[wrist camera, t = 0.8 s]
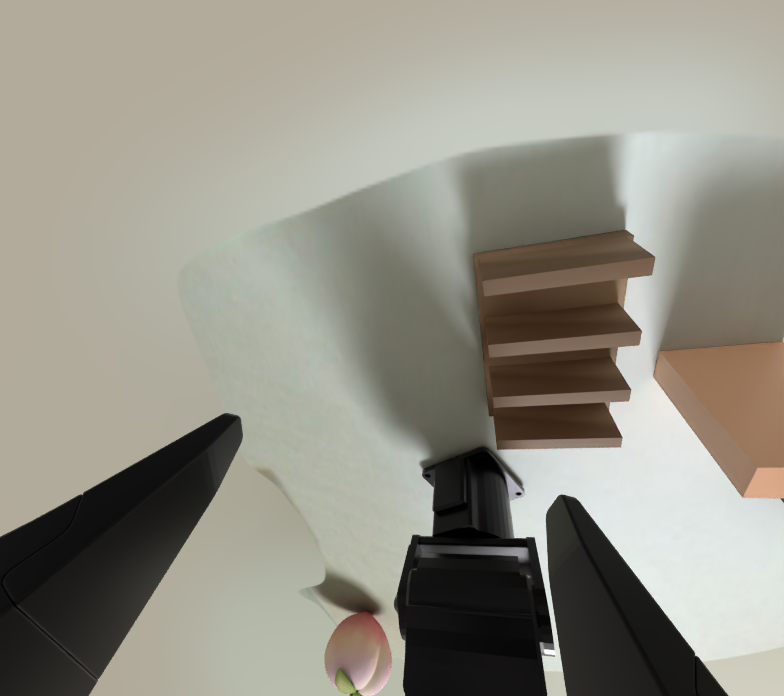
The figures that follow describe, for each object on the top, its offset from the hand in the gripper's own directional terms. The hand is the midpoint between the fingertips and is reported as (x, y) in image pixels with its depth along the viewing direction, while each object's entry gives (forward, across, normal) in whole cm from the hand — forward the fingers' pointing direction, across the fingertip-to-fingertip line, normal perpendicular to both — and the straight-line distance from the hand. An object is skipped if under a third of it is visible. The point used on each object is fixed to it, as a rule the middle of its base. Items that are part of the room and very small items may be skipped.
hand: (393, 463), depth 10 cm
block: (+14, -18, +1) cm, 22 cm away
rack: (+14, -8, +2) cm, 16 cm away
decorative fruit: (+15, -2, +52) cm, 54 cm away
